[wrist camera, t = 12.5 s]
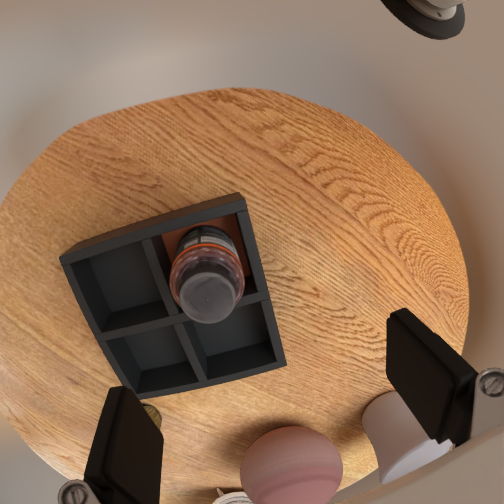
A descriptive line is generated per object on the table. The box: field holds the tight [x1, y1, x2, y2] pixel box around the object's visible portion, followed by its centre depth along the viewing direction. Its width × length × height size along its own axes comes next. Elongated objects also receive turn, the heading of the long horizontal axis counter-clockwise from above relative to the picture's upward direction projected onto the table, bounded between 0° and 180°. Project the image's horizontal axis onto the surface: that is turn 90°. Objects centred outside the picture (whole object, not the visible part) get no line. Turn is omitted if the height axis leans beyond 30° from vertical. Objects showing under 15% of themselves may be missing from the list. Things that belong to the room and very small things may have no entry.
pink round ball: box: [240, 426, 343, 504], centre depth 36 cm, size 15×15×15 cm
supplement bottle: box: [170, 225, 245, 324], centre depth 26 cm, size 6×6×11 cm
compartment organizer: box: [59, 192, 287, 400], centre depth 31 cm, size 19×19×5 cm
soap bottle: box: [361, 391, 452, 485], centre depth 33 cm, size 13×13×25 cm
